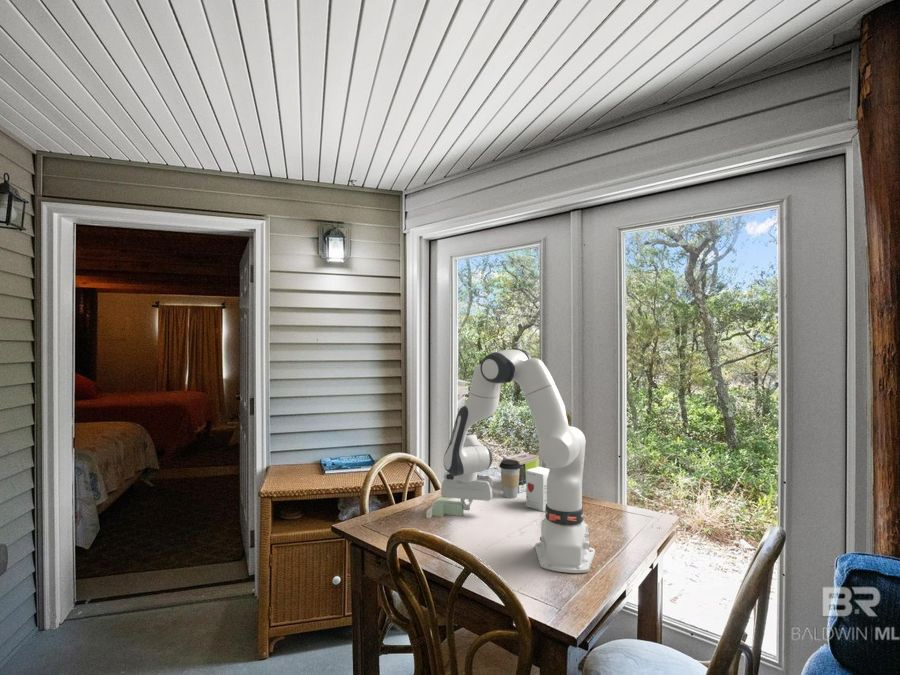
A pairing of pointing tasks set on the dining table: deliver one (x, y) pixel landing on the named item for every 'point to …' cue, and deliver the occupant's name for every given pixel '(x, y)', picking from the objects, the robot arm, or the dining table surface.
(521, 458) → the tea box
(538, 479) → the supplement box
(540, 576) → the dining table surface
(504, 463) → the coffee cup
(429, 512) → the fence
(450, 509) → the t block
